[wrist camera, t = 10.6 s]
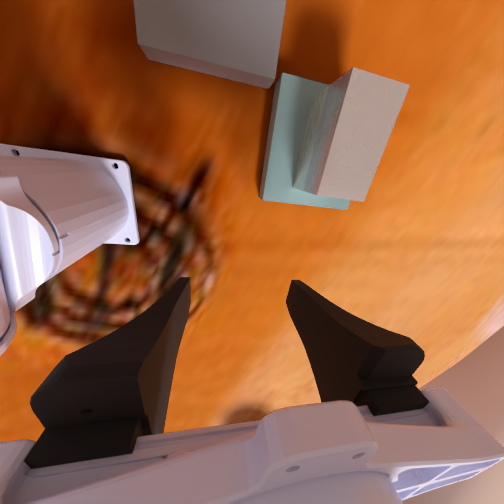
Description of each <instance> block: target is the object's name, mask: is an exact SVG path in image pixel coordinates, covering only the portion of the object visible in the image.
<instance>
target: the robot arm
mask: <svg viewBox="0 0 504 504" xmlns="http://www.w3.org/2000/svg"><path fill="white" fill-rule="evenodd" d="M16 150H17V151H18V152H19V154H20V155H18V154H17V153H16ZM114 163H117V164H118V169H116V168H115V167H114ZM126 238H129V239H130V241H128V240H127V239H126ZM139 240H140V239H139V232H138V225H137V218H136V211H135V203H134V196H133V189H132V182H131V175H130V167H129V165H128V163H127V162H125V161H122V160H115V159H108V158H101V157H94V156H86V155H79V154H72V153H65V152H58V151H50V150H43V149H36V148H29V147H22V146H14V145H7V144H0V355H1V354H2V353H3V352H4V351H5V350H6V349H7V347H8V346H9V345H10V343H11V342H12V340H13V338H14V336H15V333H16V328H17V323H16V319H15V315H14V313H13V312H15V311H17V310H18V309H20V308H21V307H22V306H24V305H25V304H27V303H28V302H29V301H31V300H32V299H34V298H35V291H36V289H37V288H38V287H39V286H40V285H41V284H42V283H44V282H45V281H47V280H48V279H50V278H51V277H53V276H54V275H56V274H58V273H59V272H61V271H62V270H64V269H65V268H67V267H68V266H70V265H71V264H73V263H74V262H76V261H77V260H79V259H80V258H82V257H83V256H85V255H86V254H88V253H89V252H91V251H92V250H94V249H95V248H97V247H98V246H100V245H101V244H103V243H111V244H129V245H136V244H137V243H139ZM190 302H191V298H190V277H180V278H179V279H178V280H177V281H176V282H175V284H174V285H173V286H172V287H171V288H170V289H169V290H168V291H167V292H166V293H165V294H164V295H163V296H162V297H161V298H160V299H158V300H157V301H156V302H155V303H154V304H153V305H152V306H150V307H149V308H148V309H147V310H146V311H144V312H143V313H142V314H140V315H139V316H138V317H136V318H135V319H133V320H131V321H130V322H128V323H127V324H125V325H124V326H122V327H121V328H119V329H117V330H116V331H114V332H112V333H110V334H108V335H107V336H105V337H103V338H101V339H99V340H97V341H95V342H93V343H91V344H89V345H87V346H85V347H83V348H81V349H79V350H77V351H75V352H72V353H70V354H68V355H66V356H65V357H64V358H63V359H62V360H61V361H60V362H59V363H58V365H57V366H56V367H55V368H54V369H53V370H52V372H51V373H50V374H49V375H48V377H47V378H46V379H45V380H44V382H43V383H42V384H41V385H40V387H39V388H38V389H37V390H36V391H35V393H34V394H33V395H32V396H31V400H30V405H31V408H32V410H33V412H34V413H35V415H36V416H37V418H38V419H39V420H40V422H41V423H42V425H43V426H44V427H45V430H44V431H43V433H42V434H41V436H40V437H39V439H38V440H37V442H36V441H33V440H16V441H8V442H0V504H403V502H402V501H401V500H404V499H407V498H410V497H413V496H416V495H419V494H421V493H424V492H427V491H430V490H433V489H436V488H439V487H442V486H446V485H449V484H452V483H455V482H459V481H462V480H466V479H470V478H472V477H473V476H475V475H477V474H479V473H480V472H482V471H484V470H486V469H487V468H489V467H491V466H492V465H494V464H496V463H498V462H499V461H501V460H503V459H504V447H503V446H502V445H501V444H500V443H499V442H498V441H497V440H496V439H495V438H494V437H493V436H492V435H491V434H490V433H489V432H488V431H487V430H486V429H485V428H484V427H483V426H482V425H481V424H480V423H479V422H478V421H477V420H476V419H475V418H474V417H473V416H472V415H471V414H470V413H469V412H468V411H467V410H466V409H465V408H464V407H463V406H462V405H461V404H460V403H459V402H458V401H457V400H456V399H454V397H453V396H452V395H451V394H450V393H449V392H448V391H447V390H446V389H445V388H443V387H436V388H428V389H424V390H422V391H420V390H419V389H418V388H417V387H416V386H415V385H416V384H417V381H416V380H415V378H414V377H413V376H412V374H413V373H414V372H415V371H416V370H417V368H418V367H419V366H420V365H421V363H422V362H423V360H424V357H425V355H424V351H423V350H422V349H421V348H420V347H419V346H418V345H417V344H416V343H415V342H414V341H413V340H412V339H410V338H409V337H406V336H403V335H400V334H397V333H394V332H391V331H389V330H386V329H383V328H381V327H378V326H376V325H374V324H371V323H369V322H367V321H365V320H362V319H360V318H358V317H356V316H354V315H352V314H350V313H349V312H347V311H345V310H343V309H341V308H340V307H338V306H336V305H335V304H333V303H332V302H330V301H329V300H327V299H326V298H324V297H323V296H321V295H320V294H319V293H317V292H316V291H314V290H313V289H312V288H310V287H309V286H307V285H306V284H305V283H303V282H302V281H300V280H292V281H291V284H290V288H289V292H288V296H287V299H286V304H287V308H288V311H289V314H290V316H291V318H292V321H293V323H294V325H295V327H296V329H297V331H298V334H299V336H300V338H301V340H302V342H303V345H304V347H305V350H306V353H307V356H308V358H309V361H310V364H311V368H312V371H313V374H314V377H315V380H316V384H317V387H318V391H319V394H320V398H321V402H322V403H315V404H307V405H299V406H292V407H285V408H282V409H278V410H274V411H273V412H271V413H269V414H267V415H266V416H264V417H263V419H262V420H256V421H249V422H242V423H235V424H228V425H220V426H213V427H206V428H199V429H191V430H184V431H177V432H170V433H163V432H164V426H165V420H166V414H167V408H168V402H169V396H170V390H171V385H172V379H173V374H174V369H175V363H176V358H177V353H178V349H179V346H180V342H181V339H182V336H183V332H184V329H185V325H186V322H187V318H188V314H189V308H190Z"/></svg>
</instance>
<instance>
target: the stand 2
mask: <svg viewBox="0 0 504 504" xmlns="http://www.w3.org/2000/svg"><path fill="white" fill-rule="evenodd" d="M327 86H329V85H328V84H324V83H320V82H316V81H313V80H309V79H305V78H302V77H298V76H294V75H290V74H287V73H283V72H282V74H281V75H280V77H279V78H278V80H277V81H276V83H275V89H274V96H273V103H272V110H271V117H270V124H269V130H268V137H267V144H266V151H265V158H264V165H263V172H262V179H261V186H260V192H259V198H261V199H262V200H265V201H274V202H283V203H291V204H300V205H309V206H318V207H326V208H335V209H344V210H347V209H348V206H349V204H350V201H351V200H347V199H340V198H333V197H326V196H319V195H314V194H311V193H308V192H305V191H302V190H298V189H295V188H292V187H293V182H294V178H295V174H296V169H297V165H298V160H299V156H300V151H301V147H302V142H303V138H304V134H305V129H306V125H307V120H308V116H309V111H310V107H311V102H312V98H313V97H314V96H315V95H317V94H318V93H319V92H321V91H322V90H323V89H325V88H326V87H327Z"/></svg>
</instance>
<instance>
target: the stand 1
mask: <svg viewBox="0 0 504 504" xmlns="http://www.w3.org/2000/svg"><path fill="white" fill-rule="evenodd" d="M133 1H134V11H135V21H136V32H137V42H138V45H139V46H140V48H141V49H142V51H143V52H144V54H145V55H146V57H147V58H148V60H151V61H155V62H160V63H164V64H168V65H172V66H176V67H180V68H184V69H188V70H192V71H196V72H200V73H204V74H209V75H213V76H217V77H221V78H225V79H229V80H233V81H237V82H241V83H245V84H249V85H253V86H257V87H262V88H266V89H269V88H270V87H271V85H272V83H273V82H274V80H275V76H276V69H277V62H278V55H279V48H280V41H281V34H282V27H283V21H284V14H285V7H286V0H133Z"/></svg>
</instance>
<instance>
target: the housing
mask: <svg viewBox="0 0 504 504" xmlns="http://www.w3.org/2000/svg"><path fill="white" fill-rule="evenodd" d="M409 86H410V85H408V84H405V83H402V82H398V81H395V80H392V79H389V78H386V77H383V76H379V75H376V74H373V73H370V72H367V71H364V70H360V69H357V68H354V67H353V68H352V69H350V70H349V71H348V72H346V73H345V74H344V75H342V76H341V77H340V78H338V79H337V80H335V81H334V82H333V83H331V84H330V85H329V86H327V87H326V88H325V89H323V90H322V91H321V92H319V93H318V94H317V95H315V96H314V97H313V98H312V102H311V107H310V111H309V116H308V120H307V125H306V129H305V134H304V138H303V142H302V147H301V151H300V156H299V160H298V165H297V169H296V174H295V178H294V182H293V187H292V188H295V189H298V190H302V191H305V192H308V193H311V194H314V195H319V196H326V197H333V198H340V199H347V200H354V201H361V202H364V200H365V197H366V195H367V192H368V190H369V187H370V185H371V182H372V180H373V177H374V175H375V172H376V170H377V167H378V165H379V162H380V160H381V157H382V155H383V152H384V149H385V147H386V144H387V142H388V139H389V137H390V134H391V132H392V129H393V127H394V124H395V122H396V119H397V117H398V114H399V112H400V109H401V106H402V104H403V101H404V99H405V96H406V94H407V91H408V89H409Z"/></svg>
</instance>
